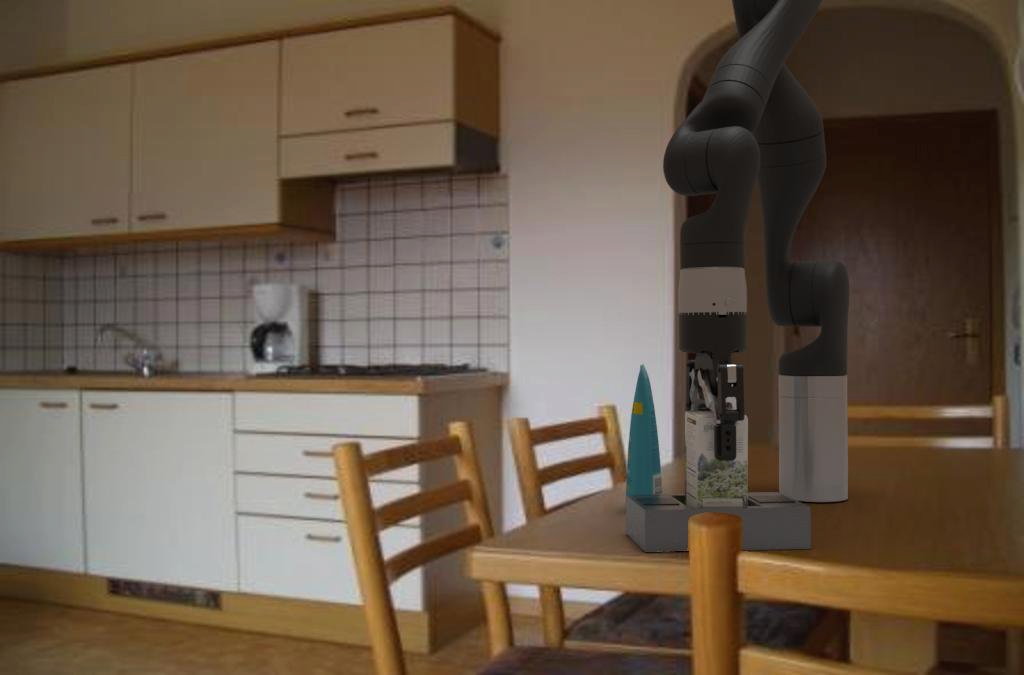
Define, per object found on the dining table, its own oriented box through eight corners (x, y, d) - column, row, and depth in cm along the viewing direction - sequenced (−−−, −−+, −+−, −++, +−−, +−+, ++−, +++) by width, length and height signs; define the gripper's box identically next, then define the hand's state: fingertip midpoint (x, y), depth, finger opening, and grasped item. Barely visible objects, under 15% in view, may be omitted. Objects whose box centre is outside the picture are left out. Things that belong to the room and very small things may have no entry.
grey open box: (626, 533, 113) (625, 494, 113) (777, 530, 114) (777, 491, 114) (645, 552, 103) (644, 509, 103) (810, 548, 104) (810, 505, 104)
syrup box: (733, 535, 111) (732, 408, 111) (749, 546, 106) (748, 412, 106) (684, 536, 111) (683, 409, 111) (697, 547, 105) (696, 413, 105)
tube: (624, 507, 130) (624, 363, 130) (661, 507, 130) (660, 363, 130) (626, 517, 123) (625, 365, 123) (665, 517, 123) (664, 365, 123)
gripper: (664, 311, 115) (665, 447, 115) (696, 308, 101) (698, 464, 101) (726, 310, 116) (727, 446, 116) (767, 308, 102) (768, 463, 102)
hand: (714, 454), depth 109 cm, fingers open, 8 cm apart
